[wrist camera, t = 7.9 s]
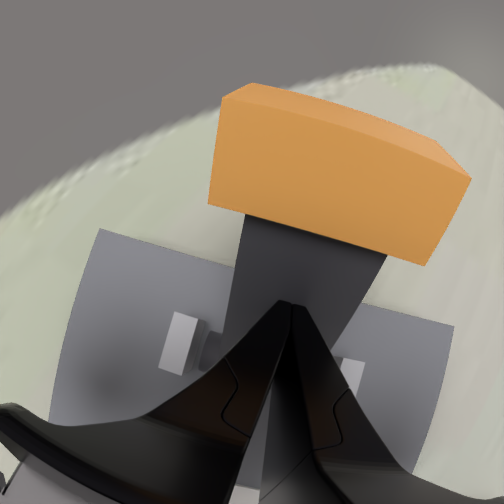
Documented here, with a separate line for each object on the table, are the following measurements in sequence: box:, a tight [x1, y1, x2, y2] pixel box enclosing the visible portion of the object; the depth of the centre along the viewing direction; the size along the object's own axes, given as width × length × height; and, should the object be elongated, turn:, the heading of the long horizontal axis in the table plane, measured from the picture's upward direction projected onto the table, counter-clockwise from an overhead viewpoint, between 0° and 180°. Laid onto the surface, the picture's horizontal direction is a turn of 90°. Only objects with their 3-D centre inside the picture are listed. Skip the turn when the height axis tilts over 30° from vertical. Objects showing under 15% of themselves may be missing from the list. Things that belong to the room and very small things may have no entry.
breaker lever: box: [198, 83, 472, 391], centre depth 10 cm, size 3×5×11 cm
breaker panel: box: [48, 228, 454, 504], centre depth 14 cm, size 18×20×7 cm
